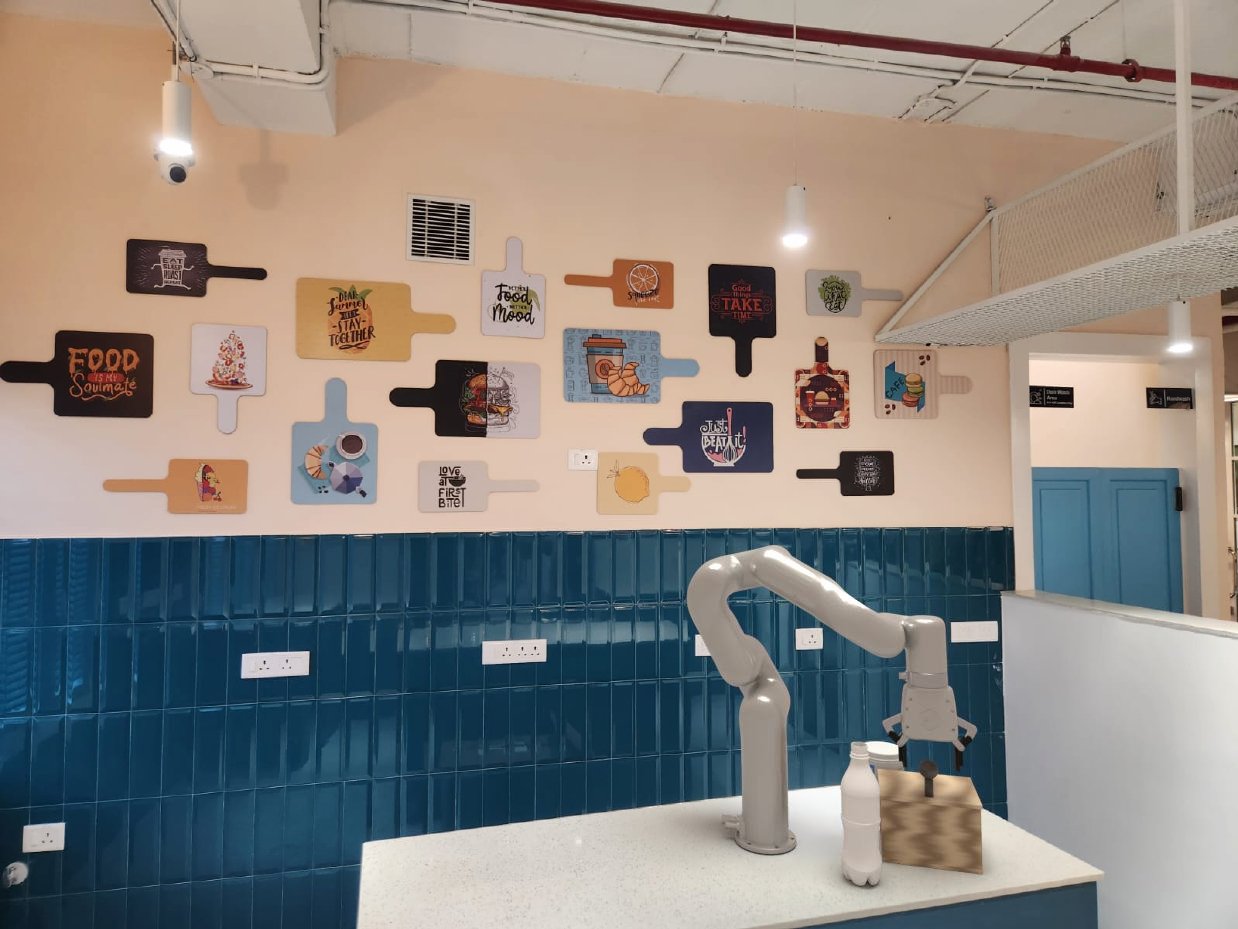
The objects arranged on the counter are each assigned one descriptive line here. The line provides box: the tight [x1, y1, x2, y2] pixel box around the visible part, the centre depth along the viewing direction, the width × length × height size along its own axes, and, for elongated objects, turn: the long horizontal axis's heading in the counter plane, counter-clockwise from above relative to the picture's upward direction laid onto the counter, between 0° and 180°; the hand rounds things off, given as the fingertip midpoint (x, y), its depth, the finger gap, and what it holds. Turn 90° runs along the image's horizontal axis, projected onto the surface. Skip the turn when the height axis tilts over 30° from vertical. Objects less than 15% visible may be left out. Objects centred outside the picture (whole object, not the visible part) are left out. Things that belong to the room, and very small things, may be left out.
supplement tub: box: [864, 740, 905, 784], centre depth 172 cm, size 10×10×15 cm
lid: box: [877, 758, 983, 811], centre depth 154 cm, size 18×15×8 cm
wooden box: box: [879, 799, 984, 875], centre depth 154 cm, size 18×15×12 cm
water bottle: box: [839, 741, 883, 887], centre depth 143 cm, size 7×7×25 cm
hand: (930, 767), depth 149 cm, fingers open, 9 cm apart
